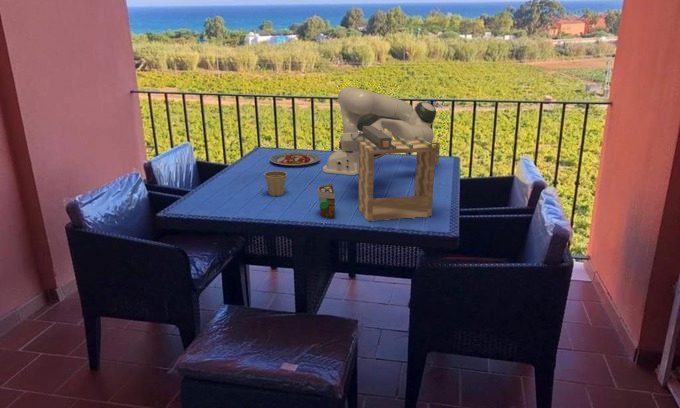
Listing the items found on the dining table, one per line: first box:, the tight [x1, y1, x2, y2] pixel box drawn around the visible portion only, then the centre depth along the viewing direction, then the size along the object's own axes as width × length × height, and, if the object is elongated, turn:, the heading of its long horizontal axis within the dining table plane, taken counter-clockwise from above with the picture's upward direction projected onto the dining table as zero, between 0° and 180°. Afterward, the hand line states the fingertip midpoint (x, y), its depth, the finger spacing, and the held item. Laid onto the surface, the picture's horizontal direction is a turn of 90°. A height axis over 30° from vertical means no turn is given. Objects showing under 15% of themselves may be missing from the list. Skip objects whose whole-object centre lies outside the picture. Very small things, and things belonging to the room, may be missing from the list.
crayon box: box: [431, 142, 441, 166], centre depth 259 cm, size 7×3×12 cm, turn 98°
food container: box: [316, 183, 336, 219], centre depth 190 cm, size 12×6×10 cm, turn 5°
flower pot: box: [263, 170, 288, 197], centre depth 213 cm, size 9×9×9 cm
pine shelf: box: [357, 136, 436, 222], centre depth 189 cm, size 14×24×27 cm, turn 102°
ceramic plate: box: [269, 151, 321, 167], centre depth 265 cm, size 26×26×3 cm
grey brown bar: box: [362, 126, 391, 150], centre depth 187 cm, size 24×4×4 cm, turn 12°
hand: (370, 132), depth 194 cm, fingers open, 7 cm apart
